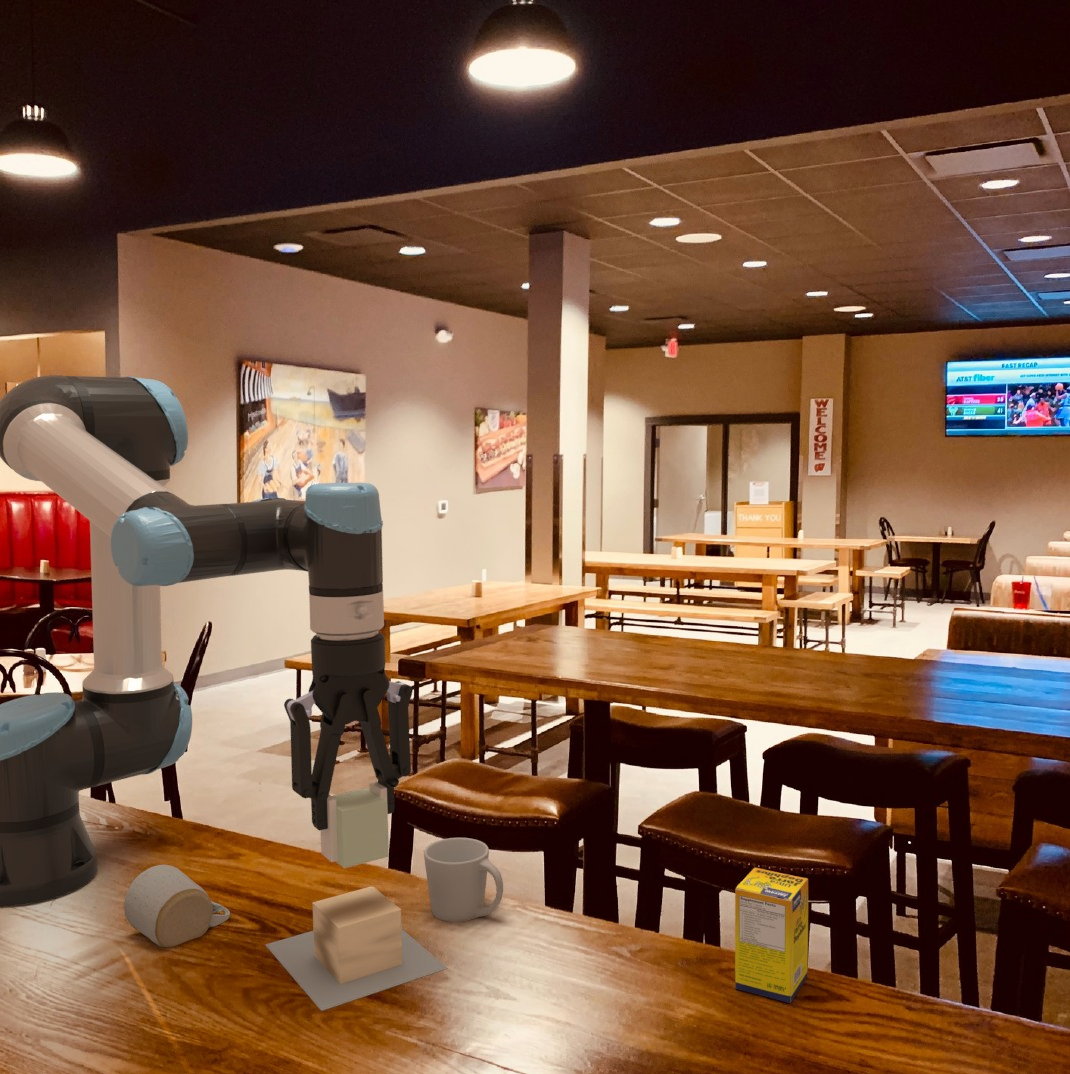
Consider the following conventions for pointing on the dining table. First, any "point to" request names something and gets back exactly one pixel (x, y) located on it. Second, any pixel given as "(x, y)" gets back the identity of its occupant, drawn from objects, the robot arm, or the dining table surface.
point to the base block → (357, 934)
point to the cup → (460, 879)
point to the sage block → (361, 827)
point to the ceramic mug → (170, 907)
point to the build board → (331, 993)
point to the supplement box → (771, 934)
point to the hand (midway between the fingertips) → (355, 850)
